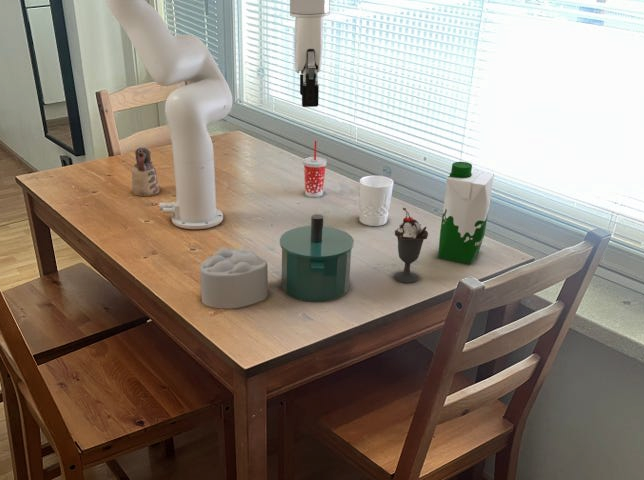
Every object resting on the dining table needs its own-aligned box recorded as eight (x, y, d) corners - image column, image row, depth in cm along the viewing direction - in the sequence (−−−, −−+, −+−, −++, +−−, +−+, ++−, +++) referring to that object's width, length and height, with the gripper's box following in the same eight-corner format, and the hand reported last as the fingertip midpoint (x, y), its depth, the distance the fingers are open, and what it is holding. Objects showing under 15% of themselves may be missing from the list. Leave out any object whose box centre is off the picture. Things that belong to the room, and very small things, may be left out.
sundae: (386, 271, 152) (392, 204, 144) (417, 269, 153) (425, 202, 144) (393, 285, 147) (401, 216, 139) (426, 284, 147) (435, 215, 139)
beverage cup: (307, 188, 194) (309, 136, 186) (328, 191, 192) (331, 139, 184) (298, 196, 189) (299, 142, 182) (320, 199, 187) (322, 145, 179)
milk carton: (444, 243, 164) (457, 157, 152) (484, 251, 160) (500, 163, 149) (432, 258, 157) (444, 169, 146) (473, 267, 153) (489, 176, 142)
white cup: (388, 228, 171) (392, 187, 166) (355, 226, 172) (358, 185, 167) (390, 215, 178) (394, 176, 172) (358, 213, 179) (361, 174, 173)
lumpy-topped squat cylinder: (273, 297, 143) (273, 258, 139) (215, 314, 138) (213, 274, 133) (247, 277, 151) (246, 239, 146) (192, 292, 145) (189, 253, 141)
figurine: (162, 187, 196) (158, 143, 189) (155, 197, 190) (150, 152, 183) (137, 186, 197) (132, 142, 190) (129, 195, 191) (124, 151, 184)
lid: (279, 261, 137) (279, 231, 133) (280, 230, 149) (280, 202, 145) (356, 262, 136) (358, 232, 133) (350, 231, 148) (352, 202, 145)
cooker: (281, 308, 140) (281, 264, 135) (282, 264, 156) (282, 223, 150) (351, 309, 139) (354, 264, 134) (345, 265, 155) (348, 224, 150)
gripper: (288, 1, 143) (289, 91, 152) (291, 13, 128) (291, 111, 138) (326, 0, 143) (324, 90, 152) (333, 12, 128) (330, 110, 137)
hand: (308, 100), depth 145 cm, fingers open, 9 cm apart
